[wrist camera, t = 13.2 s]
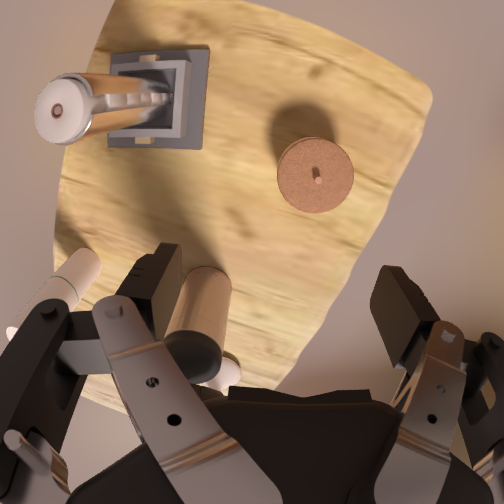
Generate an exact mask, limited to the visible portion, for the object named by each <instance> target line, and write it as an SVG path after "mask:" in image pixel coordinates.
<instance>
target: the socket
mask: <svg viewBox="0 0 504 504" xmlns="http://www.w3.org/2000/svg"><path fill="white" fill-rule="evenodd" d="M209 59H210V50H209V49H181V50H157V51H142V52H131V53H122V54H114V55H111V66H110V75H118V76H128V77H138V78H146V79H153V80H160V81H163V82H165V83H166V84H167V85H168V86H169V87H170V88H171V90H172V93H173V104H172V107H171V109H170V110H169V112H168V113H167V114H166V115H165V116H163V117H162V118H159V119H156V120H152V121H148V122H144V123H140V124H136V125H132V126H129V127H125V128H121V129H118V130H114V131H111V132H108V148H174V149H195V150H201V149H202V142H203V127H204V113H205V101H206V89H207V79H208V68H209Z"/></svg>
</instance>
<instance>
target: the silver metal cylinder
mask: <svg viewBox="0 0 504 504" xmlns="http://www.w3.org/2000/svg"><path fill="white" fill-rule="evenodd" d="M172 104H173V93H172V90H171V88H170V87H169V86H168V85H167V84H166V83H165V82H163V81H160V80H153V79H146V78H138V77H128V76H118V75H106V74H90V73H65V74H63V75H60V76H58V77H56V78H55V79H54V80H52V81H51V82H50V83H49V84H48V85H46V86H45V87H44V88H43V90H42V91H41V92H40V94H39V96H38V98H37V101H36V105H35V111H34V118H35V124H36V127H37V130H38V132H39V133H40V135H41V136H42V137H43V138H44V139H45V140H47V141H49V142H51V143H55V144H58V145H70V144H74V143H77V142H79V141H82V140H85V139H88V138H92V137H95V136H98V135H101V134H104V133H108V132H111V131H114V130H118V129H121V128H125V127H129V126H132V125H136V124H140V123H144V122H148V121H152V120H156V119H159V118H162V117H163V116H165V115H166V114H167V113H168V112H169V110H170V109H171V107H172Z"/></svg>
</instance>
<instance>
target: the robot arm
mask: <svg viewBox="0 0 504 504" xmlns="http://www.w3.org/2000/svg"><path fill="white" fill-rule="evenodd" d="M181 285H182V267H181V246H180V244H172V243H160V245H159V246H158V248H157V249H156V251H155V253H154V254H146V255H144V256H142V257H141V258H139V259H138V260H137V261H136V263H135V264H134V266H133V267H132V269H131V270H130V272H129V273H128V275H127V276H126V278H125V279H124V281H123V282H122V284H121V285H120V287H119V289H118V290H117V292H116V293H115V295H112V296H108V297H105V298H102V299H101V300H99V301H98V302H96V304H95V305H94V306H93V309H92V310H91V311H77V312H70V310H69V307H68V304H67V303H66V302H65V301H64V300H61V299H56V298H52V299H47V300H44V301H42V302H40V303H38V304H37V305H36V306H35V307H34V308H33V309H32V310H31V312H30V313H29V315H28V316H27V317H26V319H25V320H24V322H23V323H22V324H21V326H20V327H19V329H18V330H17V332H16V333H15V335H14V336H13V338H12V339H11V341H10V342H9V344H8V345H7V347H6V348H5V350H4V351H3V353H2V355H1V356H0V504H504V341H503V340H502V339H501V338H500V337H499V336H497V335H496V334H494V333H491V332H485V333H483V334H482V335H481V337H480V339H479V340H478V342H474V341H470V340H466V339H465V337H464V334H463V332H462V331H461V330H460V329H459V328H458V327H457V326H456V325H454V324H453V323H450V322H448V321H442V320H441V319H440V318H439V316H438V315H437V313H436V312H435V310H434V308H433V307H432V305H431V304H430V302H428V299H427V298H426V296H424V293H423V292H422V290H421V289H420V288H419V286H418V285H417V284H415V283H414V282H413V281H412V280H410V279H409V277H408V276H407V275H406V273H405V272H404V270H403V269H402V268H401V267H399V266H388V265H384V266H382V268H381V270H380V272H379V275H378V278H377V281H376V284H375V287H374V290H373V292H372V296H371V299H370V310H371V313H372V315H373V318H374V320H375V322H376V325H377V327H378V330H379V332H380V335H381V337H382V339H383V342H384V344H385V347H386V349H387V352H388V355H389V357H390V360H391V362H392V365H393V368H394V369H403V368H406V370H407V372H406V373H405V375H404V376H403V378H402V381H401V383H400V385H399V387H398V389H397V392H396V394H395V396H394V398H393V400H392V402H391V405H388V404H385V403H383V402H380V401H376V400H372V398H371V394H370V391H369V389H366V390H337V391H333V392H329V393H324V394H320V395H315V396H310V397H303V398H302V397H297V396H293V395H289V394H285V393H281V392H277V391H273V390H269V389H266V388H251V387H239V386H229V391H228V396H224V395H223V394H222V393H221V392H220V391H218V390H215V389H212V388H209V387H205V386H200V385H196V384H200V383H204V382H207V381H209V380H211V379H213V378H214V377H215V376H216V375H217V374H218V373H219V371H220V368H221V363H222V355H223V348H224V340H225V333H226V326H227V319H228V312H229V305H230V298H231V291H232V286H231V282H230V280H229V278H228V277H227V276H226V275H225V274H224V273H223V272H221V271H220V270H218V269H215V268H212V267H199V268H196V269H194V270H192V271H191V272H190V273H189V274H188V275H187V277H186V278H185V281H184V284H183V286H182V289H181ZM88 374H111V376H112V378H113V381H114V383H115V385H116V388H117V390H118V393H119V395H120V397H121V399H122V402H123V404H124V406H125V408H126V411H127V413H128V415H129V417H130V419H131V421H132V424H133V426H134V428H135V430H136V432H137V434H138V436H139V438H140V440H141V442H142V444H141V445H140V446H138V447H137V448H135V449H134V450H132V451H131V452H130V453H128V454H127V455H125V456H124V457H122V458H121V459H120V460H118V461H116V462H115V463H114V464H112V465H111V466H109V467H108V468H106V469H105V470H103V471H102V472H100V473H98V474H97V475H95V476H94V477H92V478H91V479H89V480H88V481H86V482H84V483H83V484H81V485H80V486H78V487H77V488H76V489H75V490H74V491H73V492H72V493H70V491H69V488H68V482H67V479H68V468H67V465H66V463H65V461H64V459H63V458H62V457H61V456H60V455H59V453H60V450H61V447H62V444H63V441H64V438H65V435H66V432H67V429H68V426H69V424H70V420H71V418H72V415H73V412H74V409H75V407H76V404H77V401H78V399H79V396H80V394H81V391H82V389H83V386H84V384H85V381H86V379H87V376H88ZM488 380H489V381H490V383H491V385H492V387H493V389H494V391H495V394H496V401H495V404H494V406H493V407H492V408H491V409H490V410H489V409H488V406H487V404H486V402H485V399H484V397H483V395H482V392H481V389H482V388H483V386H484V385H485V384H486V383H487V381H488ZM457 420H458V423H459V426H460V429H461V432H462V435H463V438H464V441H465V445H466V448H467V451H468V454H469V458H470V462H471V465H472V469H473V470H472V469H471V468H469V467H468V466H467V465H466V464H464V463H463V462H462V461H460V460H459V459H458V458H457V457H456V456H454V455H453V454H452V453H451V452H449V449H450V446H451V442H452V439H453V435H454V431H455V427H456V424H457Z"/></svg>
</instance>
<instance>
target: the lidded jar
mask: <svg viewBox="0 0 504 504" xmlns="http://www.w3.org/2000/svg"><path fill="white" fill-rule="evenodd" d="M353 179H354V171H353V166H352V163H351V160H350V158H349V156H348V155H347V154H346V152H345V151H344V150H343V149H342V148H341V147H340V146H338V145H337V144H335V143H334V142H332V141H329V140H326V139H323V138H319V137H306V138H302V139H299V140H297V141H295V142H293V143H292V144H291V145H289V146H288V147H287V148H286V149H285V151H284V152H283V154H282V155H281V158H280V160H279V163H278V170H277V181H278V186H279V189H280V191H281V193H282V195H283V197H284V198H285V199H286V201H287V202H288V203H289V204H291V205H292V206H293V207H295V208H296V209H298V210H301V211H303V212H308V213H322V212H327V211H329V210H332V209H334V208H335V207H337V206H338V205H340V204H341V203H342V202H343V201H344V200H345V199H346V197H347V196H348V194H349V192H350V190H351V188H352V185H353Z"/></svg>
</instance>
